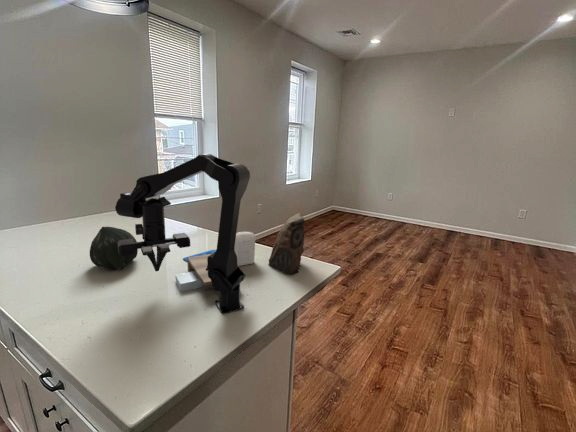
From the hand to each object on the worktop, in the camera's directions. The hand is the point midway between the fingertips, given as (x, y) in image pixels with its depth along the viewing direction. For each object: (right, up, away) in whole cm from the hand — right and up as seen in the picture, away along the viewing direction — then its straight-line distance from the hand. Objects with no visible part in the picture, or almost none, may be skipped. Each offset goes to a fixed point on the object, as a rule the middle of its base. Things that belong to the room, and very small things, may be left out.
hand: (156, 270), depth 91 cm
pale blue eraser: (+11, -5, +8) cm, 14 cm away
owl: (+38, -3, +23) cm, 45 cm away
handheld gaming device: (+7, 0, +28) cm, 28 cm away
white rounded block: (+21, -2, +24) cm, 32 cm away
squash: (-22, -1, +17) cm, 28 cm away
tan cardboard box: (+14, -5, +10) cm, 17 cm away
